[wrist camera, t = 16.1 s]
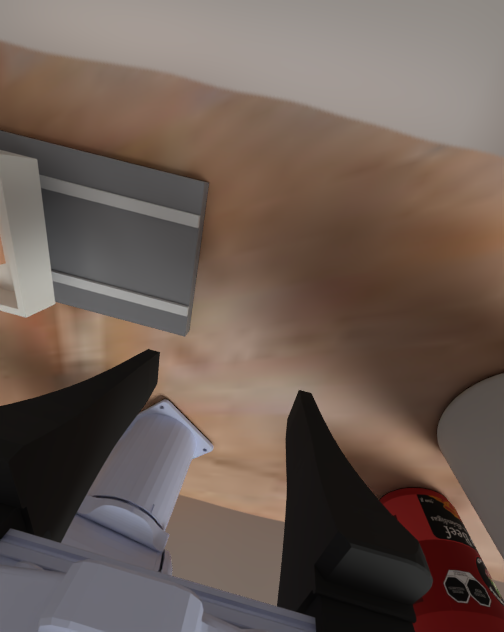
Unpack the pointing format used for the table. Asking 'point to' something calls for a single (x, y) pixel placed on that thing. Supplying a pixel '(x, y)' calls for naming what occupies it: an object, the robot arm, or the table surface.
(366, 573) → the robot arm
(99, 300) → the track
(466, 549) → the canned food
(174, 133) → the table surface
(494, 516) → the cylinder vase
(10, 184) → the white shallow tray
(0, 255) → the block
